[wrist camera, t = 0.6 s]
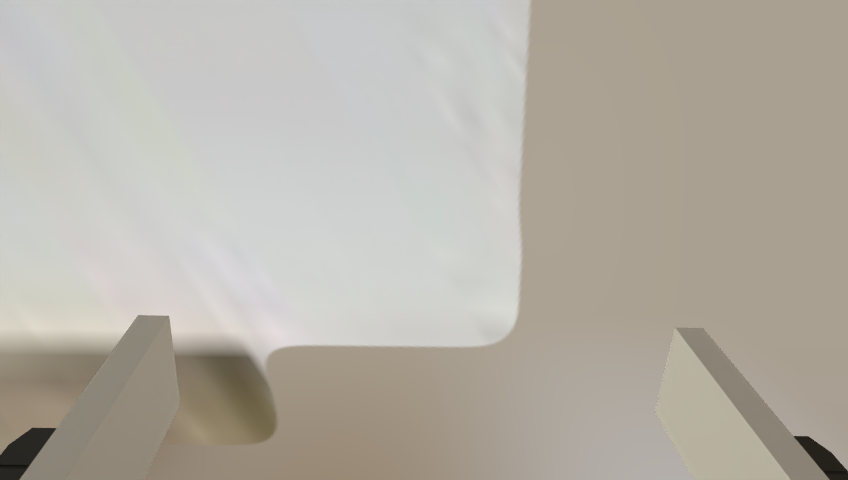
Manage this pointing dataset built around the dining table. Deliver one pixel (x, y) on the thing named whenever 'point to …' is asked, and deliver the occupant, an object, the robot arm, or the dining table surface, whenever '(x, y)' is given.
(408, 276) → the dining table surface
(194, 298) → the dining table surface
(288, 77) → the dining table surface
